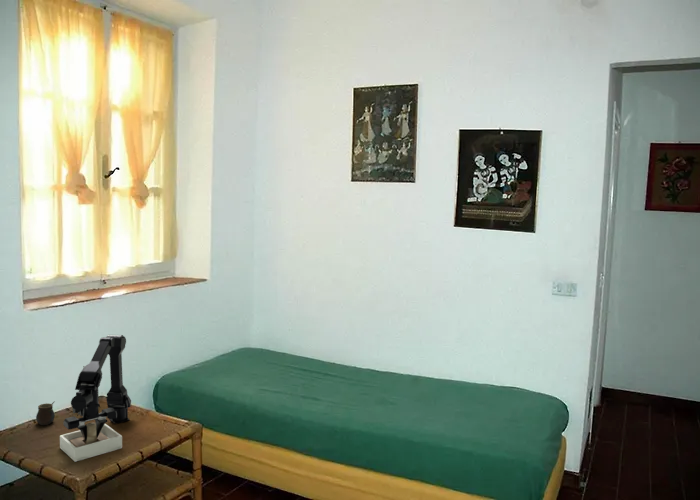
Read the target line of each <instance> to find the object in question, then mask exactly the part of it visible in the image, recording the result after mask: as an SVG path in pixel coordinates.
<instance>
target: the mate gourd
mask: <svg viewBox="0 0 700 500" xmlns="http://www.w3.org/2000/svg"><path fill="white" fill-rule="evenodd" d="M55 402H56V401H53V402H52V403H47V402H45V403H41V404H40V405H38V407H37V409H38V411H37V413H36V416H35V420H36V422H37V423H38V424H39V425H40V426H46V425H50V424H51V423H53V422H54V420H55V416H56V414H55V411H54V409H53V408H54V407H53V406H54V403H55Z"/></svg>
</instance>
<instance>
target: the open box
mask: <svg viewBox="0 0 700 500" xmlns="http://www.w3.org/2000/svg"><path fill="white" fill-rule="evenodd" d="M100 432H101V433H102V434H104V435H105V436H106V437H108V438H109V439H106V440H103V441H99V442H95V443H92V444H88V445H84V446H81V447H77V448H76V447H75V446H74V445H73V444H71V443H70V440H71V439H75V438H79V437H83V435H82V433H81V431H80V429H78V430H75V431H72V432H68V433H64V434H61V435H59V448H60V449H61V451H63V452H64V453H65V454H66V455H67V456H68V457H69V458H70V459H71V460H72V461H74V462H79V461H83V460H86V459H90V458H92V457H96V456H99V455H103V454H107V453H111V452H114V451H117V450H120V449H123V435H122V434H120V433H119V432H117V431H116V430H115V429H113V428H112V427H111V426H109V425H108V424H106V423H105V424H104V426H103V427H102V429H101V431H100Z"/></svg>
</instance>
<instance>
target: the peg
mask: <svg viewBox="0 0 700 500" xmlns="http://www.w3.org/2000/svg"><path fill="white" fill-rule="evenodd" d="M85 425H86V426H87V440H86V441H85V442H86V444H91V443H95V442H97V435H96V422H87V423H85Z"/></svg>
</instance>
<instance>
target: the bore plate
mask: <svg viewBox="0 0 700 500" xmlns="http://www.w3.org/2000/svg"><path fill="white" fill-rule="evenodd" d="M106 439H109V438H108V437H106V436H105V435H104V434H102V433H101V432H100V433H99V436H98V438H97V442H99V441H103V440H106ZM70 443H71V444H73V445H74V446H75V447H76V448H77V447H81V446H84V445H88V444H86V442H85V440H84V438H83V437H79V438H75V439H71V440H70ZM91 444H92V443H91Z"/></svg>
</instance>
